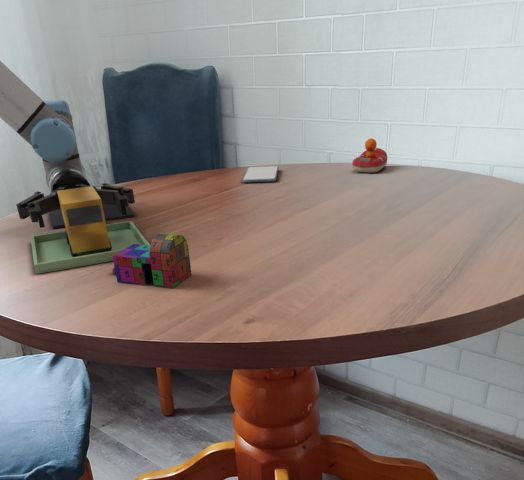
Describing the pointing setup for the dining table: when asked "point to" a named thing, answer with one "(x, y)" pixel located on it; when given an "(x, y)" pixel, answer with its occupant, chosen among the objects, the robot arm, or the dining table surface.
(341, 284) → the dining table surface
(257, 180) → the smartphone
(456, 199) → the dining table surface
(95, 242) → the toy van
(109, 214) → the mat
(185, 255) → the block
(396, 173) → the dining table surface
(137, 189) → the dining table surface
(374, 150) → the toy boat
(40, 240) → the box
